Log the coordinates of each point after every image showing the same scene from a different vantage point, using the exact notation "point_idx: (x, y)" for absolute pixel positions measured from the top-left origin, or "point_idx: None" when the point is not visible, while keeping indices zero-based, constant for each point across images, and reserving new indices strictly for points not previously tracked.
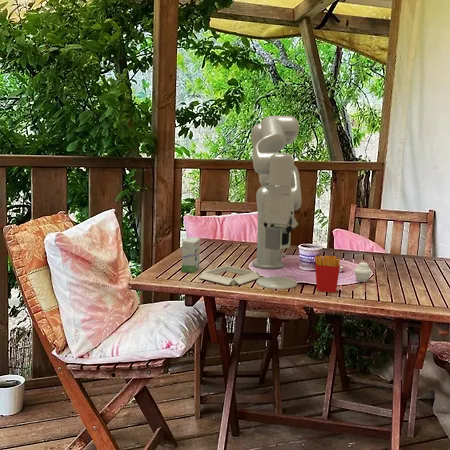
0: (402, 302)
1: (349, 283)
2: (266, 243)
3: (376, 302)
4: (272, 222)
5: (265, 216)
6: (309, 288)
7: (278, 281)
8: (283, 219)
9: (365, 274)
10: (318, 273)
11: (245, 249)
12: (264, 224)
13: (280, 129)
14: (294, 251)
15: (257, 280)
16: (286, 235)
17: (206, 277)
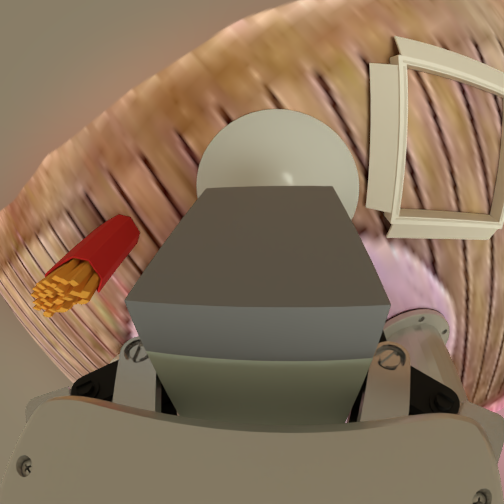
0: (13, 265)
1: (134, 326)
2: (326, 201)
3: (20, 232)
4: (287, 444)
5: (463, 501)
6: (156, 219)
7: None
8: (46, 460)
9: (113, 358)
10: (92, 240)
11: (477, 387)
12: (449, 398)
13: None
14: None
15: (348, 156)
16: None
17: (489, 71)
